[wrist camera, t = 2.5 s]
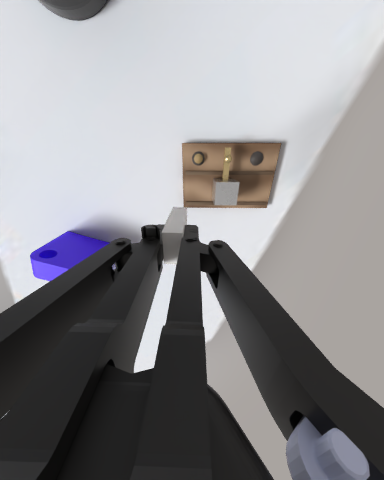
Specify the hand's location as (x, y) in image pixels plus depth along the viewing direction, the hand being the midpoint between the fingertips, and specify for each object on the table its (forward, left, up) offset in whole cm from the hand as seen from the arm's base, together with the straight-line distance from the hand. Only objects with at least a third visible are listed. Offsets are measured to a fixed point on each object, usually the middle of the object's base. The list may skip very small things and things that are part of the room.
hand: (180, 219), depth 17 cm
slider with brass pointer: (-3, +7, -17) cm, 19 cm away
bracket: (+21, -28, -19) cm, 40 cm away
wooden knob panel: (-2, +8, -19) cm, 21 cm away
